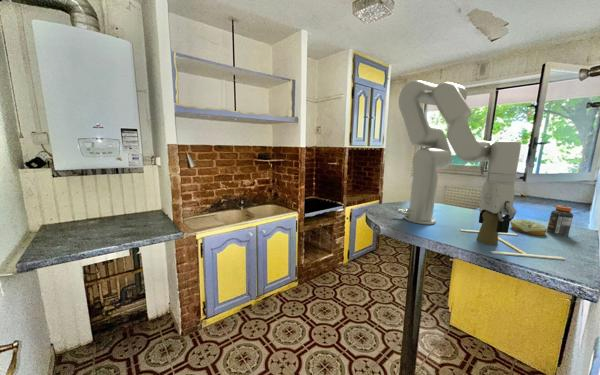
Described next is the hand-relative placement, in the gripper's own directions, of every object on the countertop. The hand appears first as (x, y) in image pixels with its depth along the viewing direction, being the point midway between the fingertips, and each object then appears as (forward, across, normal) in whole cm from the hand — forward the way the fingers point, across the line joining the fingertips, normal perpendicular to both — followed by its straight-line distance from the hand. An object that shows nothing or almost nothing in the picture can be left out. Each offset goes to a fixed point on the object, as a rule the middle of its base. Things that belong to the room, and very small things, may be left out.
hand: (492, 227), depth 83 cm
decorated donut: (+6, -17, +24) cm, 29 cm away
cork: (+6, -1, 0) cm, 6 cm away
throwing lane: (+6, -1, +6) cm, 8 cm away
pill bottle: (+6, -16, +34) cm, 37 cm away
